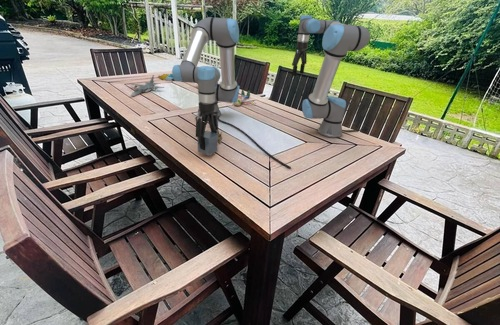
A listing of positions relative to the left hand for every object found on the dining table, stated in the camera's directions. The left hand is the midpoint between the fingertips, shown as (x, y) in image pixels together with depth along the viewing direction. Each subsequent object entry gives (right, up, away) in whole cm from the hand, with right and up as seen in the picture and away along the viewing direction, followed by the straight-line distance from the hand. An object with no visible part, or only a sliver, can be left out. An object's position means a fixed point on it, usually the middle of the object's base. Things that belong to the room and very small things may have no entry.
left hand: (207, 146), depth 132 cm
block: (0, -2, +1) cm, 3 cm away
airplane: (-70, +55, +98) cm, 133 cm away
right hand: (+55, +54, +52) cm, 93 cm away
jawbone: (+1, +5, +19) cm, 20 cm away
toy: (+14, +43, +89) cm, 100 cm away
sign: (-62, +83, +150) cm, 183 cm away
